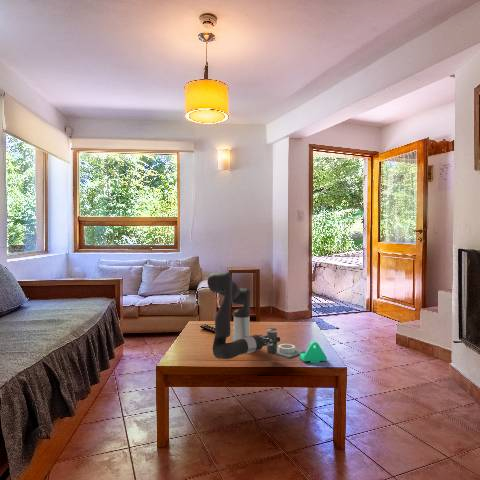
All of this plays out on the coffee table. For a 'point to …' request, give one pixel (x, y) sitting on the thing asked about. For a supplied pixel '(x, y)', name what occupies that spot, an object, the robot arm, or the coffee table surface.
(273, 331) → the lens
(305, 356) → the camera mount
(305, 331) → the coffee table surface
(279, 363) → the coffee table surface
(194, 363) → the coffee table surface
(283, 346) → the mount plate
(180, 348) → the coffee table surface
